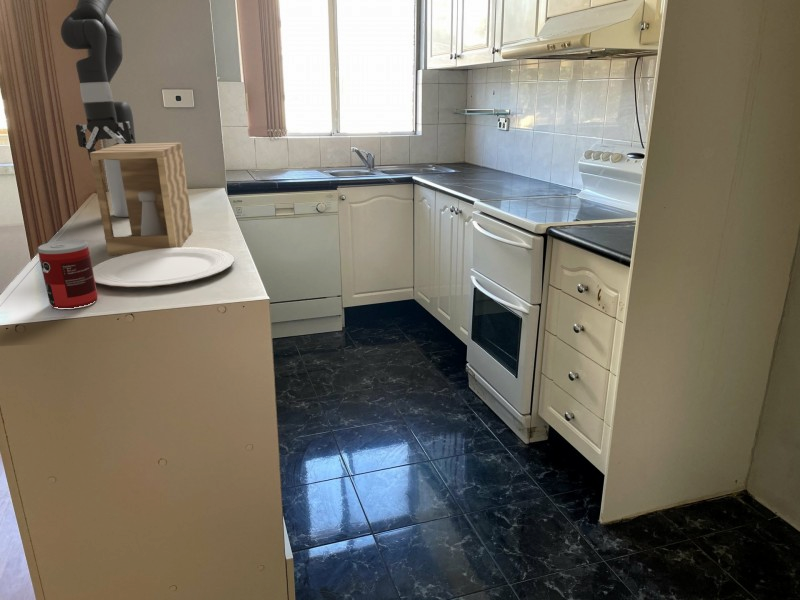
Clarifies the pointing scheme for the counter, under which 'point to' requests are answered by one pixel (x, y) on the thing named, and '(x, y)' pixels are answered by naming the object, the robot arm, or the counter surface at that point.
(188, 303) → the counter surface
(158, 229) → the salt shaker
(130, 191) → the open-side box
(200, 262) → the plate
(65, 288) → the canned food
